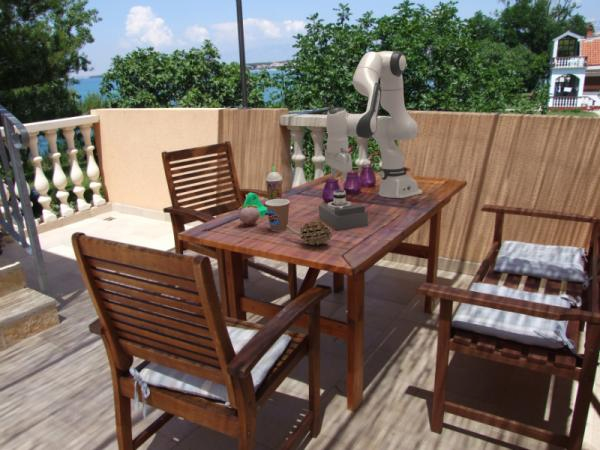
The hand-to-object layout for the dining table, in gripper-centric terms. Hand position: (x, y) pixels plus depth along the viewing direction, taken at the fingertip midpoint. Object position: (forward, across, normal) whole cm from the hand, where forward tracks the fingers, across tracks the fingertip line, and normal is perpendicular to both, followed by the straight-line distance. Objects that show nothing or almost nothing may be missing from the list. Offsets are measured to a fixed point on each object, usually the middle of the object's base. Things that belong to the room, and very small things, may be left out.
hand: (339, 178), depth 225 cm
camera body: (+18, -3, 0) cm, 19 cm away
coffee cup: (+18, +1, +28) cm, 34 cm away
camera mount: (+19, +27, +31) cm, 45 cm away
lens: (+15, 0, 0) cm, 16 cm away
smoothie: (+19, +37, +18) cm, 45 cm away
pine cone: (+18, -22, +24) cm, 37 cm away
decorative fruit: (+18, +13, +38) cm, 44 cm away
